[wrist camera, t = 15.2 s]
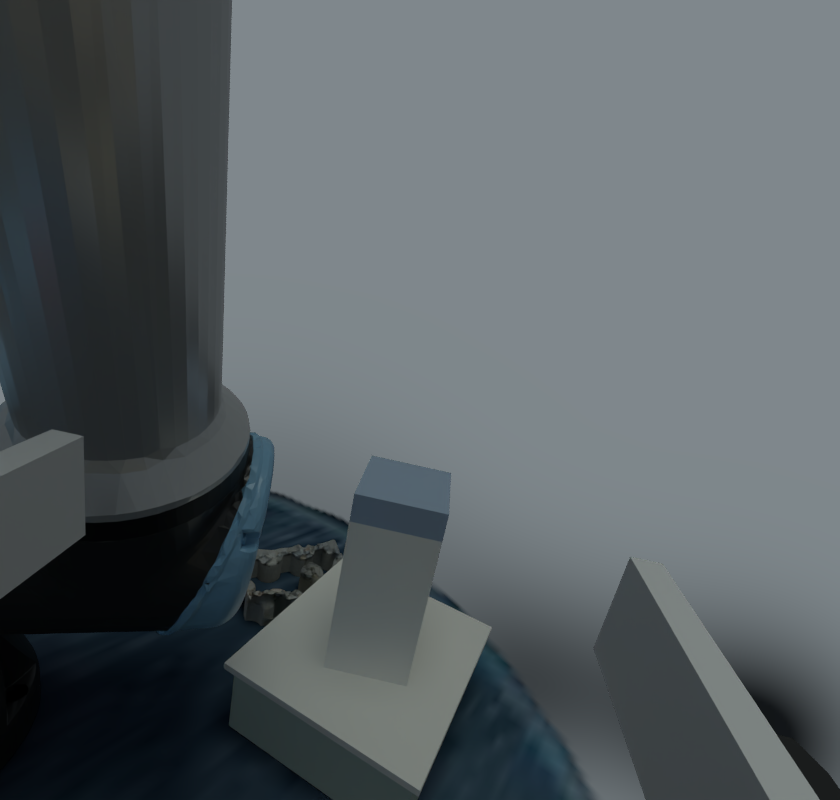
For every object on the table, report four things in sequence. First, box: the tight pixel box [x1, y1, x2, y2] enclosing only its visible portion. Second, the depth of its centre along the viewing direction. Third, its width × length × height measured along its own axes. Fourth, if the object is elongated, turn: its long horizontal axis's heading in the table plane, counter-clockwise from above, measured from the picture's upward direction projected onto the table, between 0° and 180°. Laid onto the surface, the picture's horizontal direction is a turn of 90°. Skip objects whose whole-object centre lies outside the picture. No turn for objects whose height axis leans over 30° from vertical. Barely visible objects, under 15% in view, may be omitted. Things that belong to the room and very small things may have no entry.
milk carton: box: [324, 456, 451, 686], centre depth 34 cm, size 6×6×14 cm
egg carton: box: [244, 540, 343, 626], centre depth 47 cm, size 11×8×4 cm
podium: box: [224, 558, 492, 800], centre depth 37 cm, size 15×15×6 cm
